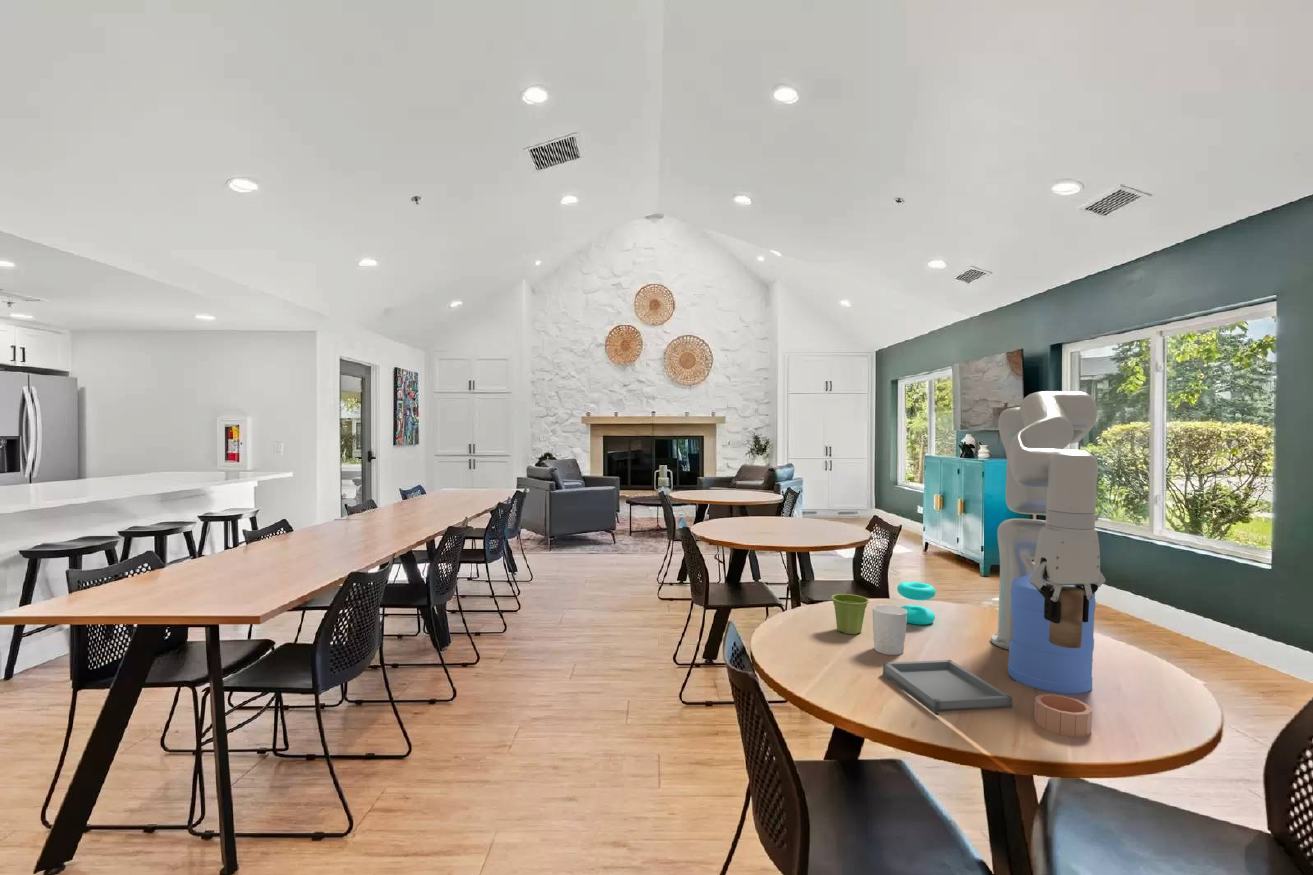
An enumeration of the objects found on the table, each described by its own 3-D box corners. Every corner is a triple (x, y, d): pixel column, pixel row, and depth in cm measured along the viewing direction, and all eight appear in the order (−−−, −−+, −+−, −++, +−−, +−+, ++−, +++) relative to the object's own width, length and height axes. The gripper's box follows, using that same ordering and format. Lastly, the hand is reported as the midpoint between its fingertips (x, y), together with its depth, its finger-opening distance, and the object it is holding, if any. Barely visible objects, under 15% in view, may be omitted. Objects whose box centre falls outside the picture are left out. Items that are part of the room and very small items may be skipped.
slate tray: (949, 671, 148) (950, 659, 148) (1011, 710, 129) (1012, 697, 128) (882, 674, 146) (883, 662, 146) (935, 714, 126) (936, 701, 126)
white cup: (901, 645, 164) (902, 605, 164) (910, 657, 157) (911, 615, 156) (868, 644, 165) (869, 604, 165) (875, 655, 157) (876, 613, 157)
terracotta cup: (1064, 716, 126) (1065, 693, 126) (1102, 738, 118) (1103, 713, 118) (1024, 719, 125) (1024, 695, 125) (1058, 741, 116) (1059, 715, 116)
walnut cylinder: (1066, 638, 124) (1068, 584, 124) (1088, 647, 119) (1090, 592, 119) (1042, 639, 123) (1044, 585, 123) (1063, 648, 118) (1065, 593, 118)
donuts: (902, 578, 192) (939, 584, 187) (900, 613, 193) (937, 619, 187) (893, 585, 184) (931, 591, 179) (892, 621, 184) (930, 628, 179)
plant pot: (828, 624, 180) (829, 592, 180) (864, 626, 179) (865, 594, 179) (832, 635, 171) (833, 602, 171) (870, 638, 170) (871, 604, 170)
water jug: (1111, 695, 137) (1116, 559, 136) (1042, 698, 134) (1048, 560, 134) (1053, 666, 152) (1058, 544, 151) (991, 669, 150) (996, 545, 149)
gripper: (1094, 517, 125) (1090, 612, 126) (1013, 518, 123) (1009, 615, 123) (1129, 524, 118) (1124, 625, 119) (1043, 525, 115) (1039, 629, 116)
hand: (1065, 619), depth 121 cm, fingers closed on walnut cylinder, 5 cm apart
